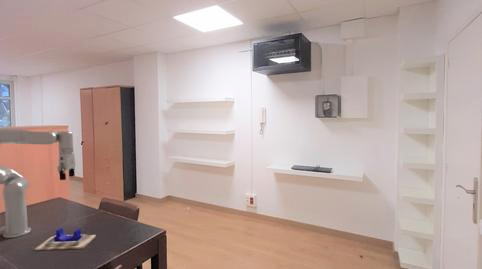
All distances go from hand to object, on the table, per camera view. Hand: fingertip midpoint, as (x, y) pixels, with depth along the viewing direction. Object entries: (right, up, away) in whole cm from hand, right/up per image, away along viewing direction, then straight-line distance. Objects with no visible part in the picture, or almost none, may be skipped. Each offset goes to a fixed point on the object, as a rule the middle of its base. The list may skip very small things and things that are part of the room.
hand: (67, 177), depth 165 cm
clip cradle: (+14, -32, -22) cm, 41 cm away
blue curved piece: (+14, -31, -22) cm, 41 cm away
